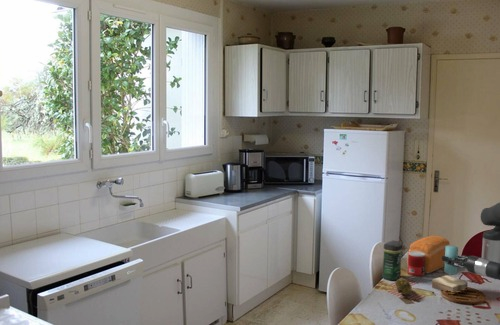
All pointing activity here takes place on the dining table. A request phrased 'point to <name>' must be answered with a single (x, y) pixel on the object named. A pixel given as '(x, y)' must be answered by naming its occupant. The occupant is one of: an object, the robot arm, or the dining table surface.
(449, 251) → the pillar
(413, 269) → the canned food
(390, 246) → the coffee jar
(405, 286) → the potato
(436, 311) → the dining table surface
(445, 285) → the plinth
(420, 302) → the dining table surface
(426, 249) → the bread
